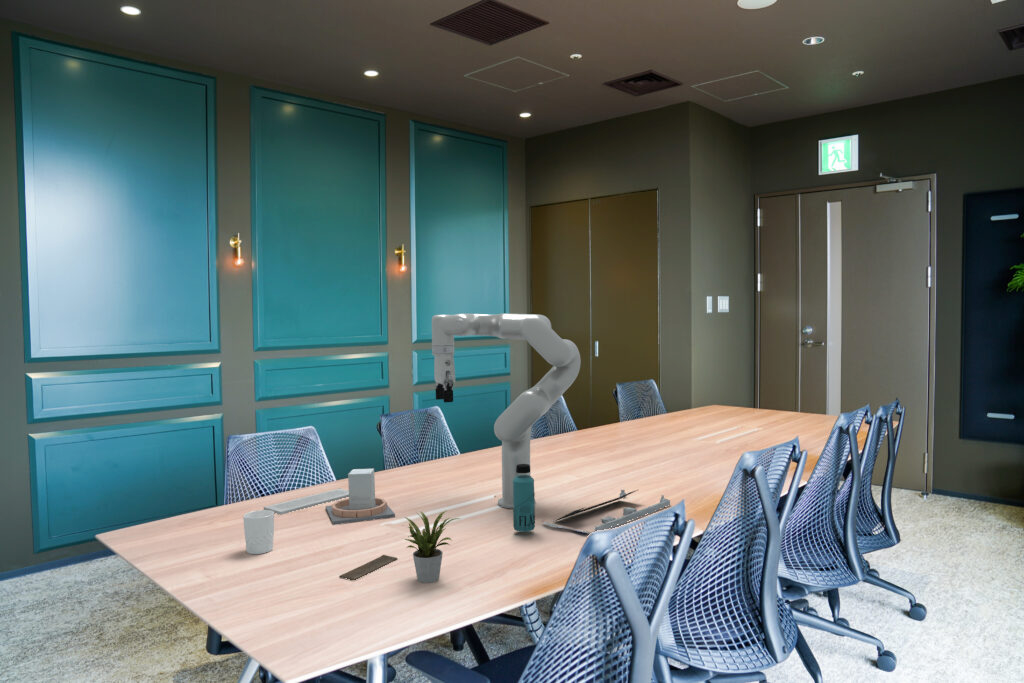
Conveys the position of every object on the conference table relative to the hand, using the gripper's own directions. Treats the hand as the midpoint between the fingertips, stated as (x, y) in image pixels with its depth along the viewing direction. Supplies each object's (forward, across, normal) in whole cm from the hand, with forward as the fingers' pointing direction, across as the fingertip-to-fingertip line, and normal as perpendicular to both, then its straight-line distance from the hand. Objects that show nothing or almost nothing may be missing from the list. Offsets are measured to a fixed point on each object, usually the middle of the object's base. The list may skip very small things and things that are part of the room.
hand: (444, 400), depth 233 cm
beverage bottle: (+34, -45, -10) cm, 58 cm away
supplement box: (+34, -3, +29) cm, 44 cm away
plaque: (+35, +18, +43) cm, 58 cm away
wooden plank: (+35, -54, +36) cm, 74 cm away
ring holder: (+34, -3, +30) cm, 46 cm away
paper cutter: (+35, -39, -40) cm, 66 cm away
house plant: (+34, -67, +23) cm, 79 cm away
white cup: (+34, -28, +61) cm, 75 cm away
